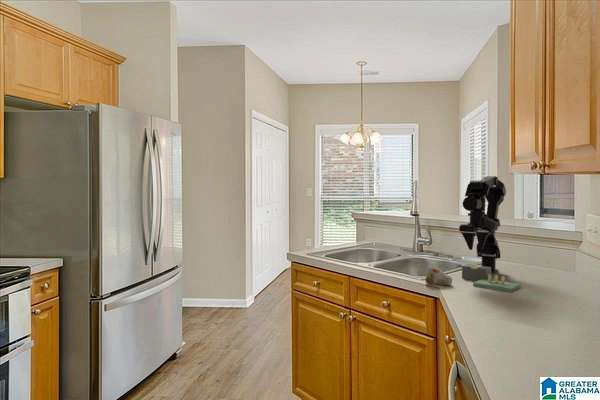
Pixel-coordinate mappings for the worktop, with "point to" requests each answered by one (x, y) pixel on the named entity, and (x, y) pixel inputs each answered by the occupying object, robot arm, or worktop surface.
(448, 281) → the grey lumpy rounded lump
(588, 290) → the worktop surface
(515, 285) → the board
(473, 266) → the block
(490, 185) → the robot arm
